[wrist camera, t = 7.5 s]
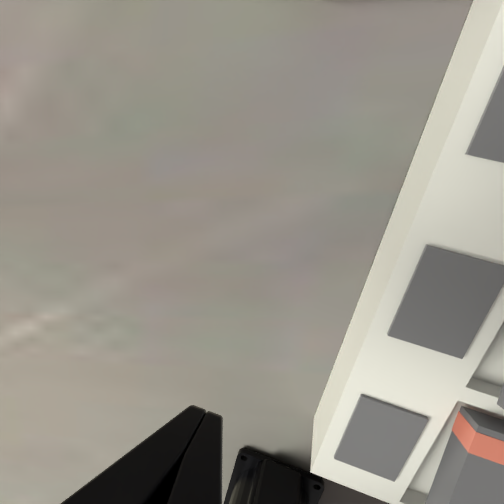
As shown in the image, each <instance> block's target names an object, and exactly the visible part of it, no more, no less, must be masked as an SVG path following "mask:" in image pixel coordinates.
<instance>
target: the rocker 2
mask: <svg viewBox="0 0 504 504" xmlns="http://www.w3.org/2000/svg"><path fill="white" fill-rule="evenodd" d="M497 405H499V406H500V407H501V408H502V409H504V383H503V386H502V389H501V392H500V395H499V398H498V401H497Z"/></svg>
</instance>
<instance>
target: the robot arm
mask: <svg viewBox="0 0 504 504" xmlns="http://www.w3.org/2000/svg"><path fill="white" fill-rule="evenodd" d="M222 432H223V418H222V416H221V415H218V414H216V413H213V412H210V411H208V412H207V413H206V410H205V409H202V408H200V407H197V406H194V405H191V406H189V407H188V408H186V409H185V410H184V411H182V412H181V413H180V414H178V415H177V416H176V417H174V418H173V419H172V420H170V421H169V422H168V423H167V424H165V425H164V426H163V427H161V428H160V429H159V430H157V431H156V432H155V433H153V434H152V435H151V436H149V437H148V438H147V439H145V440H144V441H143V442H141V443H140V444H139V445H137V446H136V447H135V448H133V449H132V450H131V451H129V452H128V453H127V454H126V455H124V456H123V457H122V458H120V459H119V460H118V461H116V462H115V463H114V464H112V465H111V466H110V467H108V468H107V469H106V470H104V471H103V472H102V473H100V474H99V475H98V476H96V477H95V478H94V479H92V480H91V481H90V482H88V483H87V484H86V485H85V486H83V487H82V488H81V489H79V490H78V491H77V492H75V493H74V494H73V495H71V496H70V497H69V498H67V499H66V500H65V501H63V502H62V503H61V504H222ZM323 490H324V481H323V479H322V478H320V477H318V476H315V475H312V474H310V473H307V472H305V471H302V470H300V469H297V468H295V467H292V466H290V465H287V464H284V463H282V462H279V461H277V460H274V459H272V458H269V457H267V456H264V455H262V454H259V453H256V452H254V451H251V450H249V449H246V448H241V449H240V450H239V452H238V455H237V459H236V462H235V466H234V469H233V473H232V476H231V480H230V483H229V487H228V490H227V494H226V497H225V501H224V504H318V502H319V499H320V497H321V495H322V493H323Z"/></svg>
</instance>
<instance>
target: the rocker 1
mask: <svg viewBox="0 0 504 504" xmlns="http://www.w3.org/2000/svg"><path fill="white" fill-rule="evenodd" d="M425 504H504V420H502V419H499V418H496V417H493V416H490V415H487V414H484V413H481V412H478V411H476V410H473V409H470V408H467V407H464V406H461V408H460V410H459V411H458V414H457V416H456V419H455V422H454V424H453V427H452V432H451V434H450V437H449V440H448V443H447V445H446V448H445V451H444V453H443V456H442V459H441V461H440V464H439V467H438V469H437V472H436V475H435V478H434V480H433V483H432V486H431V488H430V491H429V494H428V496H427V499H426V502H425Z"/></svg>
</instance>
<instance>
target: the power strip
mask: <svg viewBox="0 0 504 504" xmlns="http://www.w3.org/2000/svg"><path fill="white" fill-rule="evenodd" d="M503 383H504V0H473V3H472V6H471V8H470V11H469V13H468V16H467V19H466V21H465V24H464V26H463V29H462V32H461V34H460V37H459V40H458V42H457V45H456V47H455V50H454V53H453V55H452V58H451V60H450V63H449V66H448V68H447V71H446V74H445V76H444V79H443V81H442V84H441V87H440V89H439V92H438V94H437V97H436V100H435V102H434V105H433V108H432V110H431V113H430V115H429V118H428V121H427V123H426V126H425V128H424V131H423V134H422V136H421V139H420V142H419V144H418V147H417V149H416V152H415V155H414V157H413V160H412V163H411V165H410V168H409V170H408V173H407V176H406V178H405V181H404V183H403V186H402V189H401V191H400V194H399V197H398V199H397V202H396V204H395V207H394V210H393V212H392V215H391V217H390V220H389V223H388V225H387V228H386V231H385V233H384V236H383V238H382V241H381V244H380V246H379V249H378V251H377V254H376V257H375V259H374V262H373V265H372V267H371V270H370V272H369V275H368V278H367V280H366V283H365V285H364V288H363V291H362V293H361V296H360V299H359V301H358V304H357V306H356V309H355V312H354V314H353V317H352V319H351V322H350V325H349V327H348V330H347V333H346V335H345V338H344V340H343V343H342V346H341V348H340V351H339V353H338V356H337V359H336V361H335V364H334V367H333V369H332V372H331V374H330V377H329V380H328V382H327V385H326V387H325V390H324V393H323V395H322V398H321V401H320V403H319V406H318V408H317V411H316V414H315V416H314V425H313V439H312V454H311V468H310V472H311V473H313V474H316V475H318V476H321V477H323V478H326V479H328V480H331V481H333V482H336V483H339V484H341V485H344V486H346V487H349V488H351V489H354V490H356V491H359V492H362V493H364V494H367V495H369V496H372V497H374V498H377V499H379V500H382V501H384V502H387V503H390V504H425V502H426V499H427V496H428V494H429V491H430V488H431V486H432V483H433V480H434V478H435V475H436V472H437V469H438V467H439V464H440V461H441V459H442V456H443V453H444V451H445V448H446V445H447V443H448V440H449V437H450V434H451V432H452V427H453V424H454V422H455V419H456V416H457V414H458V411H459V410H460V408H461V406H464V407H467V408H470V409H473V410H476V411H478V412H481V413H484V414H487V415H490V416H493V417H496V418H499V419H502V420H504V409H502V408H501V407H500V406H499V405H497V401H498V398H499V395H500V392H501V389H502V386H503Z"/></svg>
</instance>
